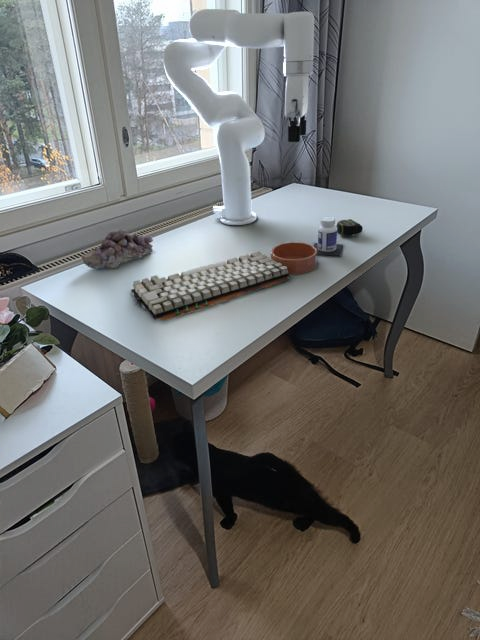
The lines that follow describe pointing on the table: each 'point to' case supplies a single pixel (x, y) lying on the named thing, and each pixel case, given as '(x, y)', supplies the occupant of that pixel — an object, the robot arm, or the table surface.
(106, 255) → the mineral specimen
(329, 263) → the table surface
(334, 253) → the coaster
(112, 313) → the table surface
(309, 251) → the bowl
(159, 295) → the mechanical keyboard
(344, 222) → the tape measure
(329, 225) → the pill bottle
